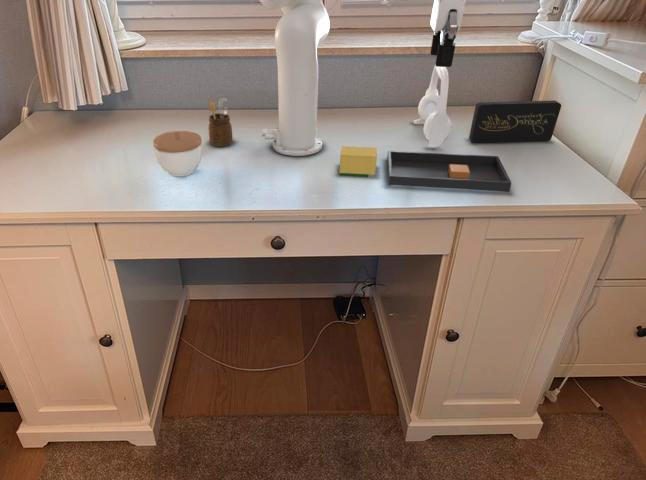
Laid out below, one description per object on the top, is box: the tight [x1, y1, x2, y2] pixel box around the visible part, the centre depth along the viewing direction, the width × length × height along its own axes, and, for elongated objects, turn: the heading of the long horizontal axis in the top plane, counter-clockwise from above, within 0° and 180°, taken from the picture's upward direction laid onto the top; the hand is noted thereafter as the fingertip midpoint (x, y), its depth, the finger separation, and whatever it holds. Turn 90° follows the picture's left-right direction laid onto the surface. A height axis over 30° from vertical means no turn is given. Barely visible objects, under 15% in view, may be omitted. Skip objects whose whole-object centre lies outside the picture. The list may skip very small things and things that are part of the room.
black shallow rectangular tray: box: [386, 150, 512, 193], centre depth 115 cm, size 25×14×3 cm, turn 82°
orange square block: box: [448, 164, 470, 179], centre depth 115 cm, size 4×4×2 cm
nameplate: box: [468, 100, 562, 144], centre depth 130 cm, size 21×2×10 cm, turn 93°
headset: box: [413, 64, 452, 148], centre depth 131 cm, size 20×7×18 cm, turn 173°
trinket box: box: [152, 130, 203, 178], centre depth 116 cm, size 11×11×9 cm
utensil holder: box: [207, 97, 233, 148], centre depth 130 cm, size 6×6×12 cm
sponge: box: [338, 145, 378, 178], centre depth 117 cm, size 8×5×5 cm, turn 82°
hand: (440, 60), depth 108 cm, fingers open, 9 cm apart
